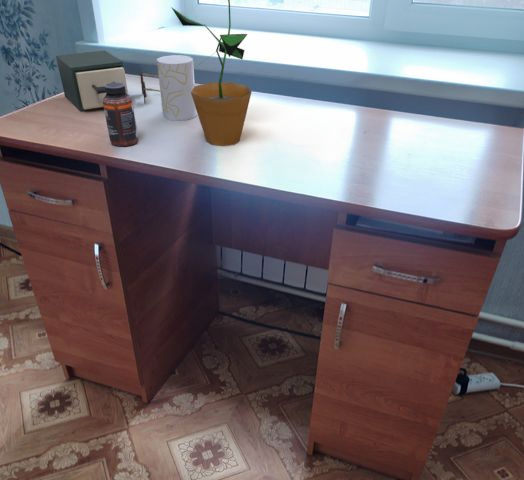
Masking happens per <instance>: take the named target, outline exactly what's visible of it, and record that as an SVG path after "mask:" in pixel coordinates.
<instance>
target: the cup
mask: <svg viewBox="0 0 524 480" xmlns="http://www.w3.org/2000/svg"><path fill="white" fill-rule="evenodd" d="M156 65H157V76H159V77H158V82H159V90H160V92H159V93H160V100H161V108H162V117H163V118H165V119H167V120H169V121H189V120H192V119H194V118H196V117H197V116H198V113H197V110H196V107H195V104H194V101H193V98H192V95H191V91H192V90H193V88H194V87H195V86H196V85H195V71H194V70H195V69H194V58H193V57H192V56H188V55H180V54H172V55H163V56H159V57H158V58H156Z"/></svg>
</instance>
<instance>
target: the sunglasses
mask: <svg viewBox="0 0 524 480" xmlns="http://www.w3.org/2000/svg"><path fill="white" fill-rule="evenodd" d="M139 75H140V85H141V94H142V96H143V104H146V98H147V92H146V91H148V92H149V91H150V92H158V93H161V92H160V89H155V88H154V89H153V88H149V87H148V88H147V87H146V82H145V81H144V76H145V77H156V78H159V75H158V74H157V75H156V74H148V73H142V72H140V73H139Z"/></svg>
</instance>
